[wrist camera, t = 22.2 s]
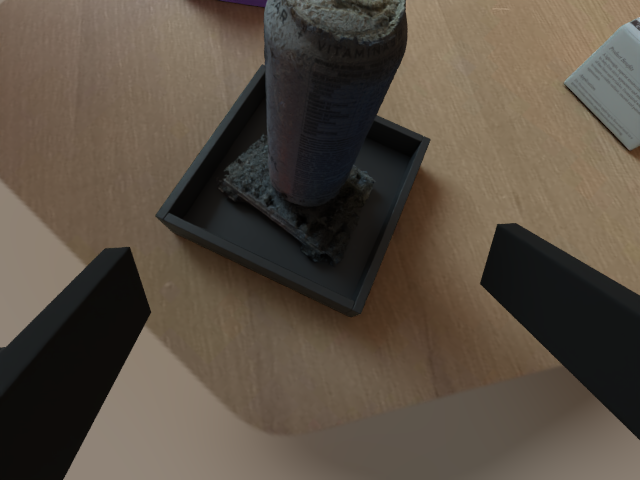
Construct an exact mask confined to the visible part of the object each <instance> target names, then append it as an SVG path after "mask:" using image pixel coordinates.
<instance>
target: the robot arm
mask: <svg viewBox="0 0 640 480" xmlns="http://www.w3.org/2000/svg"><path fill="white" fill-rule="evenodd" d="M480 284H481V285H482V286H483V287H484V288H485V289H486V290H487V291H488V292H489V293H490V294H491V295H492V296H493V297H494V298H495V299H496V300H497V301H498V302H499V303H500V304H501V305H502V306H503V307H504V308H505V309H506V310H507V311H508V312H509V313H510V314H511V315H512V316H513V317H514V318H515V319H516V320H517V321H518V322H520V323H521V324H522V325H523V326H524V327H525V328H526V329H527V330H528V331H529V332H530V333H531V334H532V335H533V336H534V337H535V338H536V339H537V340H538V341H539V342H540V343H541V344H542V345H543V346H544V347H545V348H546V349H547V350H548V351H549V352H550V353H551V354H552V355H553V356H554V357H555V358H556V359H557V360H558V361H559V362H560V363H561V364H562V365H563V366H565V367H566V368H567V369H568V370H569V371H570V372H571V373H572V374H573V375H574V376H575V377H576V378H577V379H578V380H579V381H580V382H581V383H582V384H583V385H584V386H585V387H586V388H587V389H588V390H589V391H590V392H591V393H592V394H593V395H594V396H595V397H596V398H597V399H598V400H599V401H600V402H601V403H602V404H603V405H604V406H605V407H606V408H608V409H609V411H611V412H612V413H613V414H614V415H615V416H616V417H617V418H618V419H619V420H620V421H621V422H622V423H623V424H624V425H625V426H626V427H627V428H628V429H629V430H630V431H631V432H632V433H633V434H634V435H635V436H636V437H637V438H638V439H639V440H640V295H638V294H636V293H634V292H633V291H631V290H629V289H628V288H626V287H624V286H622V285H621V284H619V283H617V282H616V281H614V280H612V279H610V278H609V277H607V276H605V275H604V274H602V273H600V272H599V271H597V270H595V269H593V268H592V267H590V266H588V265H587V264H585V263H583V262H581V261H580V260H578V259H576V258H575V257H573V256H571V255H569V254H568V253H566V252H564V251H563V250H561V249H559V248H557V247H556V246H554V245H552V244H551V243H549V242H547V241H545V240H544V239H542V238H540V237H539V236H537V235H535V234H533V233H532V232H530V231H528V230H527V229H525V228H523V227H521V226H520V225H518V224H516V223H510V224H497V227H496V231H495V234H494V238H493V241H492V244H491V248H490V251H489V255H488V258H487V262H486V265H485V268H484V272H483V275H482V279H481V282H480ZM150 314H151V310H150V307H149V304H148V301H147V298H146V295H145V292H144V289H143V286H142V283H141V280H140V277H139V273H138V270H137V267H136V264H135V261H134V258H133V255H132V252H131V249H130V247H122V248H105V249H104V250H103V251H102V252H101V253H100V254H99V255H98V256H97V257H96V258H95V259H94V260H93V261H92V262H91V263H90V264H89V265H88V266H87V267H86V268H85V269H84V270H83V271H82V272H81V273H80V274H79V275H78V276H77V277H76V278H75V279H74V280H73V281H72V282H71V283H70V284H69V285H68V286H67V287H66V288H65V289H64V290H63V291H62V292H61V293H60V294H59V295H58V296H57V297H56V298H55V299H54V300H53V301H52V302H51V303H50V304H49V305H48V306H47V307H46V308H45V309H44V310H43V311H42V312H41V313H40V314H39V315H38V316H37V317H36V318H35V319H34V320H33V321H32V322H31V323H30V324H29V325H28V326H27V327H26V328H25V329H24V330H23V331H22V332H21V333H20V334H19V335H18V336H17V337H16V338H15V339H14V340H13V341H12V342H11V343H10V344H9V345H8V346H7V347H3V348H0V480H63V479H64V477H65V475H66V473H67V471H68V469H69V468H70V466H71V464H72V462H73V460H74V458H75V456H76V454H77V452H78V451H79V449H80V446H81V445H82V443H83V441H84V439H85V437H86V435H87V433H88V431H89V430H90V428H91V426H92V424H93V422H94V420H95V418H96V416H97V414H98V412H99V411H100V409H101V407H102V405H103V403H104V401H105V399H106V397H107V395H108V393H109V391H110V390H111V387H112V386H113V384H114V382H115V380H116V378H117V376H118V374H119V372H120V371H121V369H122V366H123V365H124V363H125V361H126V359H127V357H128V355H129V354H130V352H131V350H132V348H133V346H134V344H135V342H136V340H137V338H138V336H139V334H140V333H141V331H142V329H143V327H144V325H145V323H146V321H147V319H148V317H149V315H150Z"/></svg>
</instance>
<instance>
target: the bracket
mask: <svg viewBox="0 0 640 480" xmlns="http://www.w3.org/2000/svg"><path fill="white" fill-rule="evenodd" d="M220 1H227V2H233V3H240V4H247V5H253V6H260V7H266V3H267V0H220Z"/></svg>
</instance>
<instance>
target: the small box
mask: <svg viewBox="0 0 640 480" xmlns="http://www.w3.org/2000/svg"><path fill="white" fill-rule="evenodd" d="M564 84H565V85H566V86H567V87H568V88H569V89H570V90H571V91H572V92H573V93H574V94H575V95H576V96H577V97H578V98H579V99H580V100H581V101H582V102H583V103H584V104H585V105H586V106H587V107H588V108H589V109H590V110H591V111H592V112H593V113H594V114H595V115H596V116H597V117H598V118H599V119H600V120H601V122H602V123H603V124H604V125H605V126H606V127H607V128H608V129H609V130H610V131H611V132H612V133H613V134H614V135H615V136H616V137H617V138H618V139H619V140H620V141H621V142H622V143H623V144H624V145H625V146H626V147H627V149H628V150H630V151H631V150H633V149H635V148H637V147H638V146H640V17H639V18H637V19H635V20H633V21H631V22H629V23H627V24H624V25H622V26H621V27H620V28H619V29H618V30H617V31H616V32H615V33H614V34H613V35H612V36H611V37H610V38H609V39H608V40H607V41H606V42H605V43H604V44H603V45H602V46H601V47H600V48H599V49H598V50H597V51H596V52H595V53H593V54H592V55H591V56H590V57H589V58H588V59H587V60H586V61H585V62H584V63H583V64H582V65H581V66H580V67H579V68H578V69H577V70H576V71H575V72H574V73H573V74H572V75H570V76H569V77H568V78H567V79H566V80H565V82H564Z"/></svg>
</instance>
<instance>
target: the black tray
mask: <svg viewBox="0 0 640 480" xmlns="http://www.w3.org/2000/svg"><path fill="white" fill-rule="evenodd" d="M265 80H266V79H265V65H261V67H260V68H259V70H258V71H257V72H256V74H255V75H254V77H253V78H252V79H251V81H250V82H249V84H248V85H247V87H246V88H245V89H244V91H243V92H242V94H241V95H240V96H239V98H238V99H237V101H236V102H235V104H234V105H233V106H232V108H231V109H230V111H229V112H228V113H227V115H226V116H225V118H224V119H223V121H222V122H221V123H220V125H219V126H218V128H217V129H216V130H215V132H214V133H213V135H212V136H211V138H210V139H209V140H208V142H207V143H206V145H205V146H204V147H203V149H202V150H201V152H200V153H199V155H198V156H197V157H196V159H195V160H194V162H193V163H192V164H191V166H190V167H189V169H188V170H187V172H186V173H185V174H184V176H183V177H182V179H181V180H180V181H179V183H178V184H177V186H176V187H175V189H174V190H173V191H172V193H171V194H170V196H169V197H168V198H167V200H166V201H165V203H164V204H163V206H162V207H161V208H160V210H159V211H158V213H157V214H156V217H157V218H158V219H159V220H160V221H161V222H162V223H163V224H164V225H165V226H167V227H168V228H169V229H170V230H171V231H172V232H173V233H175V234H178V235H180V236H182V237H184V238H186V239H188V240H190V241H192V242H194V243H196V244H198V245H201V246H203V247H205V248H207V249H209V250H211V251H213V252H215V253H217V254H219V255H221V256H224V257H226V258H228V259H230V260H232V261H234V262H236V263H238V264H240V265H242V266H245V267H247V268H249V269H251V270H253V271H255V272H257V273H259V274H261V275H263V276H265V277H268V278H270V279H272V280H274V281H276V282H278V283H280V284H282V285H284V286H286V287H288V288H291V289H293V290H295V291H297V292H299V293H301V294H303V295H305V296H307V297H309V298H311V299H314V300H316V301H318V302H320V303H322V304H324V305H326V306H328V307H330V308H332V309H334V310H337V311H339V312H341V313H343V314H345V315H347V316H349V317H353V316H356V315H359V314H361V312H362V310H363V307H364V305H365V302H366V300H367V297H368V295H369V292H370V290H371V287H372V285H373V282H374V280H375V277H376V275H377V272H378V270H379V267H380V265H381V262H382V260H383V257H384V255H385V252H386V250H387V247H388V245H389V242H390V240H391V237H392V235H393V232H394V230H395V227H396V225H397V222H398V220H399V217H400V215H401V212H402V210H403V207H404V205H405V202H406V200H407V197H408V195H409V192H410V190H411V187H412V185H413V182H414V180H415V177H416V175H417V172H418V170H419V167H420V165H421V163H422V160H423V158H424V155H425V153H426V150H427V148H428V145H429V143H430V140H431V139H429V138H427V137H425V136H424V137H423V136H422V135H420V134H418V133H415V132H413V131H411V130H409V129H407V128H404V127H402V126H400V125H398V124H395V123H393V122H391V121H389V120H386V119H384V118H382V117H380V116H377V115H376V117H375V119H374V122H373V124H372V126H371V128H370V130H369V132H368V134H367V136H366V138H365V141H364V143H363V145H362V147H361V150H360V151H359V155H358V157H357V158H356V162H355V164H354V165H355V166H356V167H357V168H358V169H360V170H361V171H364V172H365V171H366V172H367V173H368V175H369V177H372V179H373V180H375V182H374V183H372V184H374V185H373V187H372V190H371V192H370V195H369V197H368V198H369V199H368V198H367V199H366V201H365V202H366V205H364V206H363V207H362V208H361V210H358V211H359V212H360V213H362V214H360V215H359V217H360V219H359V220H358V219H357V220H358V225H357V227H356V225H355V224H354V229H353V226H352V225H353V224H352V225H349V226H350V227H351V228H350V227H349V228H348V226H347V223H346V222H343V225H342V226H341V228H339V229H344V230H345V232H347V234H348V233H350V234H349V235H350V236H351V237H350V238H351V239H350V240H348V241H349V243H348V244H347V246H346V249H347V248H348V250H346V251H344V254H343V255H345V256H344V258H342V259H339V260H341V261H340V262H339V263H337V262H336V263H337V264H336V263H335V262H334V261H333V260H332V258H331V256H328V254H326V253H325V254H322V253H321V256H320V259H319V260H321V259H322V258H323V257H324V258H323V260H321V261H319V260H318V261H319V262H317V261H316V262H314V261H312V260H311V258H309V257H308V256H306V255H304V253H302V252H301V251H300V249H301V247H302V243H300V242H299V241H298V240H296V239H295V238H293V237H292V236H293V235H292V234H289V232H288V233H287V232H286V231H285V230H283V229H282V228H281V227H279V226H278V225H276V224H274V223H273V222H271V221H269V217H266V216H265V214H264V215H263V214H262V212H260V211H259V209H255V208H254V207H252V205H250V204H248V203H246V202H244V201H243V202H242V201H238V202H235V201H233V200H232V199H230V198H228V197H227V196H225V195H224V194H223V193H222V192H221V190H219V189H217V188H216V187H217V182H216V178H218V177H219V178H218V181H220V180H222V182H224V180H223V179H225V178H226V177H227V176H225V175H226V174H227V175H229V171H224V170H226V169H225V168H226V167H228V165H230V164H233V163H234V161H235V160H236V162H237V158H239V157H238V156H241V154H243V152H244V153H246V151H247V150H249V149H250V146H253V145H252V144H254V143H255V142H256V141H257V140H258V139H259V140H261V136H262V135H263V134H264V135H265V137H263V138H266V136H268V135H267V113H266V112H267V111H266V83H265ZM261 142H263V141H262V140H261ZM255 146H256V145H255ZM247 148H248V149H247ZM243 162H244V161H242V162H241V160H240V159H238V163H239V164H241V163H243ZM372 184H371V185H372ZM353 218H354V217H353ZM350 221H351V220H350ZM347 222H348V224H349V221H347ZM345 223H346V224H345ZM355 228H356V229H355ZM339 229H338V230H339ZM351 229H353V230H354V231H353V230H351ZM322 256H323V257H322ZM330 258H331V259H330ZM326 260H327V262H326V263H325V261H326ZM331 261H332V262H331ZM330 263H331V264H332V265H333V266H331V265H330Z"/></svg>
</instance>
